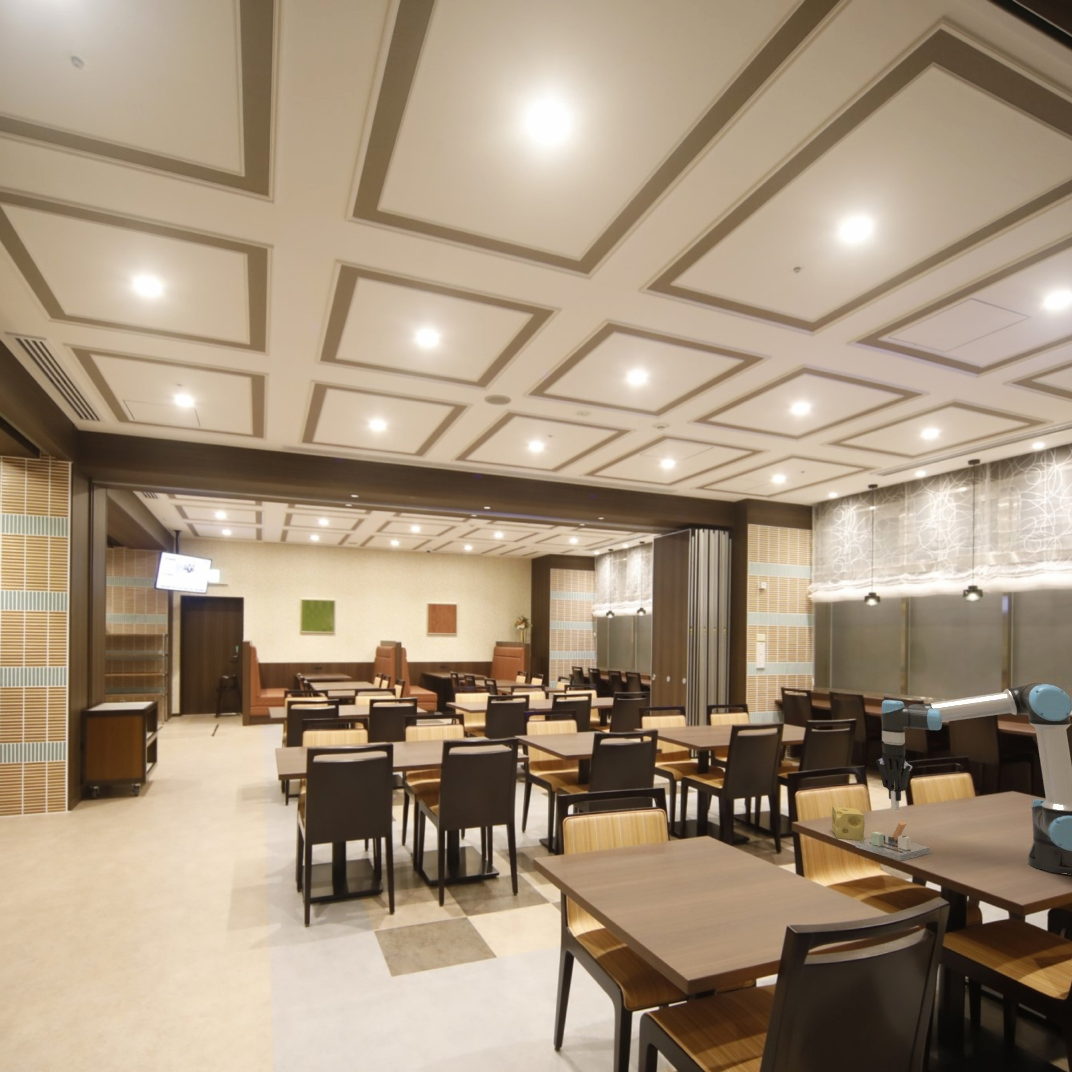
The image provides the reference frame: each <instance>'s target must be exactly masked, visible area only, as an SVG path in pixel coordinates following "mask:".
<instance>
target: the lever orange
mask: <svg viewBox="0 0 1072 1072" xmlns="http://www.w3.org/2000/svg"><path fill="white" fill-rule="evenodd" d="M905 827H906V823H905V822H904V821H902V822H898V823H897V826H896V828H895V830H894V832H893V834H892V837H894V842H895V841H898V836H901V835H902V833H903V831H904V829H905Z"/></svg>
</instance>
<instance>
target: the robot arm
mask: <svg viewBox="0 0 1072 1072" xmlns="http://www.w3.org/2000/svg"><path fill="white" fill-rule="evenodd" d="M1071 713H1072V700H1071V697H1070V696H1069V695H1068V693H1066V692H1065V691H1064V690H1063V689H1062V688H1060V687H1058V686H1056V685H1053V684H1047V683H1041V682H1032V683H1027V684H1023V685H1020V686H1014V687H1009V688H1005V689H1004V690H1003V692H996V693H995V692H994V693H989V694H988V693H987V694H983V695H982V694H981V695H975V696H974V695H973V696H969V697H963V698H962V697H961V698H955V699H947V700H942V701H935V702H934V701H933V702H930V703H929V702H928V703H921V704H918V703H915V704H911V705H909V706H905V702H903V701H901V700H894V699H893V700H891V699H884V700H883V701H882V702H881V742H882V744H881V748H882V756H881V758H879V759H876V760H875V763H876V764H877V767H878V771H879V774H880V779H881V783H882V786H883V788H886V789H887V790H888V799H889V800H890V805H891V807H890V808H891V810H892V811H899V810H900V802H901V800H902V792H904V791H907V789H908V786H909V785H908V783H909V779H910V775H911V771H912V770H913V769H914V766H913V765H912V764H909V763H908V762H907V759H906V745H905V742H906V735H905V734H906V732H905V729H915V730H916V729H917V730H926V731H927V730H928V731H929V730H930V731H939V730H941V729H942V726H943V723H945V722H952V721H960V720H967V719H968V720H969V719H974V718H981V717H989V716H996V715H998V716H999V715H1004V714H1011V715H1014V716H1017V715H1027V716H1028V722H1029V725H1031V727H1033V728H1034V729H1035V732H1036V733H1035V734H1036V741H1037V747H1038V748H1037V749H1038V753H1039V760H1040V768H1041V775H1042V780H1043V781H1042V782H1043V789H1044V794H1045V799H1038V798H1037V799H1036V798H1035V799H1033V800H1032V803H1031V814H1032V818H1031V819H1032V838H1033V841H1032V845H1031V847H1030V849H1029V853H1028V857H1027V859H1028V860H1027V862H1028V864H1029V865H1030V866H1031V867H1033V868H1036V869H1038V870H1040V869H1042V870H1041V871H1044V870H1045V871H1044V872H1047V871H1050V872H1049V873H1051V872H1056V873H1067V874H1072V760H1071V758H1072V757H1071V753H1070V747H1069V746H1070V745H1069V741H1068V740H1069V739H1068V733H1067V729H1068V728H1069V727H1070V726H1071V725H1072V723H1071V717H1070V715H1071ZM902 771H903V773H902ZM1056 873H1055V874H1056Z"/></svg>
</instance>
